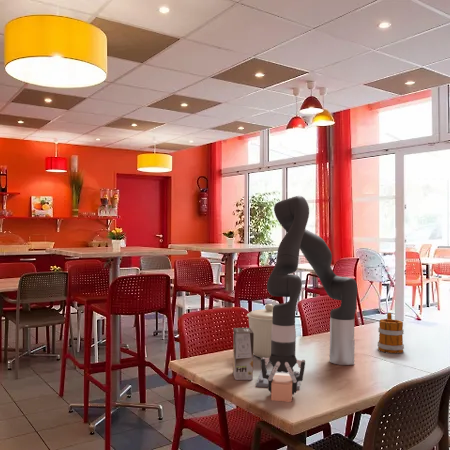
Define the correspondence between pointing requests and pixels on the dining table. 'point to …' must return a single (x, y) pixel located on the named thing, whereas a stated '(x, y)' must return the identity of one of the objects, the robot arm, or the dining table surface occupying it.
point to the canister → (261, 330)
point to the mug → (390, 335)
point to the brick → (281, 388)
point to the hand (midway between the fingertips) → (282, 392)
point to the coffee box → (243, 353)
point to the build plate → (264, 382)
